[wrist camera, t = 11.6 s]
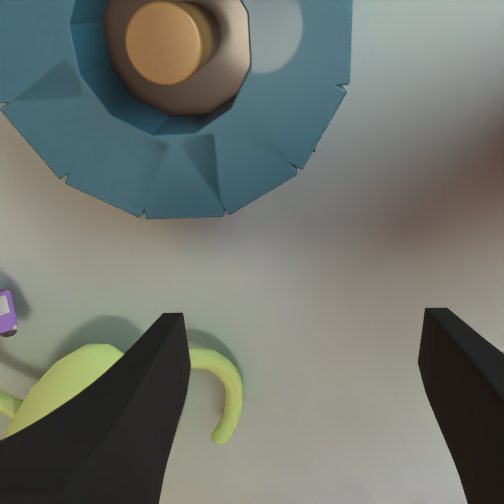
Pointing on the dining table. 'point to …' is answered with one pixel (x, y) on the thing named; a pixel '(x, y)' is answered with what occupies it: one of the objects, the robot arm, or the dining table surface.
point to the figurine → (91, 368)
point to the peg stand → (179, 51)
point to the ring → (172, 127)
